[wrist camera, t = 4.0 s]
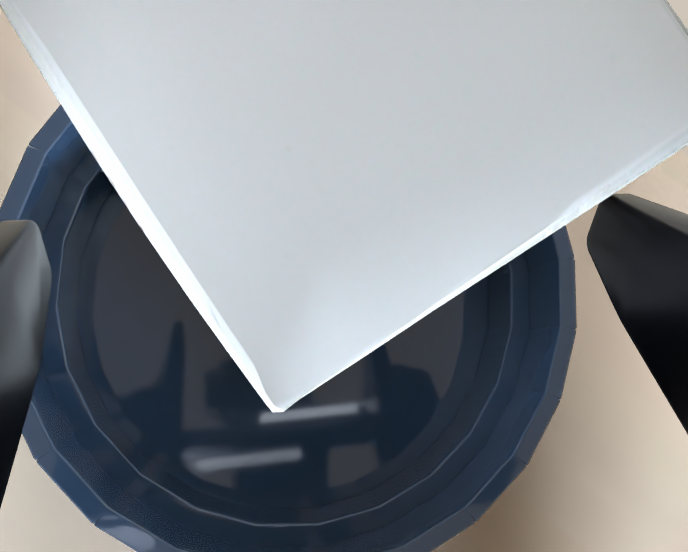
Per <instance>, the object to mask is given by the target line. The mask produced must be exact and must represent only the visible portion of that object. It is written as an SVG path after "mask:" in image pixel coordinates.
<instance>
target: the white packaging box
mask: <svg viewBox="0 0 688 552" xmlns="http://www.w3.org/2000/svg"><path fill="white" fill-rule="evenodd" d="M0 6H1V8H2V10H3V11H4V13H5V15H6V16H7V18H8V19H9V21H10V23H11V24H12V26H13V28H14V29H15V31H16V33H17V34H18V36H19V38H20V39H21V41H22V43H23V44H24V46H25V48H26V49H27V51H28V53H29V54H30V56H31V57H32V59H33V61H34V62H35V64H36V65H37V67H38V69H39V70H40V72H41V73H42V75H43V77H44V78H45V80H46V81H47V83H48V85H49V86H50V88H51V89H52V91H53V93H54V94H55V96H56V97H57V99H58V101H59V102H60V104H61V105H62V107H63V108H64V110H65V112H66V113H67V115H68V116H69V118H70V120H71V121H72V123H73V124H74V126H75V128H76V129H77V131H78V132H79V134H80V135H81V137H82V139H83V140H84V142H85V143H86V145H87V146H88V148H89V150H90V151H91V153H92V154H93V156H94V157H95V159H96V160H97V162H98V164H99V165H100V167H101V168H102V170H103V171H104V173H105V174H106V176H107V177H108V179H109V180H110V182H111V183H112V185H113V186H114V188H115V190H116V191H117V193H118V194H119V196H120V197H121V199H122V200H123V202H124V203H125V205H126V206H127V208H128V209H129V211H130V212H131V214H132V215H133V217H134V218H135V220H136V221H137V223H138V224H139V226H140V227H141V229H142V230H143V232H144V233H145V235H146V236H147V238H148V239H149V241H150V242H151V243H152V245H153V246H154V248H155V249H156V251H157V252H158V254H159V255H160V257H161V258H162V259H163V261H164V262H165V264H166V265H167V267H168V268H169V270H170V271H171V273H172V274H173V275H174V277H175V278H176V280H177V281H178V283H179V284H180V286H181V287H182V289H183V290H184V291H185V293H186V294H187V296H188V297H189V299H190V300H191V302H192V303H193V304H194V306H195V307H196V309H197V310H198V311H199V313H200V314H201V315H202V317H203V318H204V320H205V321H206V322H207V324H208V325H209V327H210V328H211V329H212V331H213V332H214V334H215V335H216V336H217V338H218V339H219V340H220V342H221V343H222V345H223V346H224V347H225V349H226V350H227V352H228V353H229V354H230V356H231V357H232V358H233V360H234V361H235V363H236V364H237V365H238V367H239V368H240V369H241V371H242V372H243V374H244V375H245V376H246V378H247V379H248V380H249V382H250V383H251V385H252V386H253V387H254V389H255V390H256V392H257V393H258V394H259V396H260V397H261V398H262V400H263V401H264V402H265V403H266V405H267V406H268V407H269V408H270V410H271V411H272V412H284V411H285V410H286V409H288V408H289V407H290V406H291V405H293V404H294V403H295V402H296V401H298V400H299V399H301V398H302V397H304V396H305V395H307V394H308V393H310V392H311V391H313V390H314V389H316V388H317V387H319V386H320V385H322V384H323V383H325V382H327V381H328V380H330V379H331V378H333V377H334V376H336V375H337V374H339V373H340V372H342V371H343V370H345V369H346V368H348V367H349V366H351V365H352V364H354V363H355V362H357V361H359V360H360V359H362V358H363V357H365V356H366V355H368V354H369V353H371V352H372V351H374V350H375V349H377V348H378V347H380V346H381V345H383V344H384V343H386V342H387V341H389V340H390V339H392V338H393V337H395V336H396V335H398V334H399V333H401V332H402V331H404V330H405V329H407V328H408V327H410V326H411V325H413V324H414V323H416V322H417V321H419V320H420V319H422V318H423V317H425V316H426V315H428V314H429V313H431V312H432V311H434V310H435V309H437V308H438V307H440V306H441V305H443V304H444V303H446V302H447V301H449V300H451V299H452V298H454V297H455V296H457V295H458V294H460V293H461V292H463V291H464V290H466V289H467V288H469V287H471V286H472V285H474V284H475V283H477V282H478V281H480V280H481V279H483V278H484V277H486V276H488V275H489V274H491V273H492V272H494V271H495V270H497V269H498V268H500V267H501V266H503V265H504V264H506V263H508V262H509V261H511V260H512V259H514V258H515V257H517V256H518V255H520V254H521V253H523V252H524V251H526V250H528V249H529V248H531V247H532V246H534V245H535V244H537V243H538V242H540V241H541V240H543V239H545V238H546V237H548V236H549V235H551V234H552V233H554V232H555V231H557V230H558V229H560V228H561V227H563V226H565V225H566V224H568V223H569V222H571V221H572V220H574V219H575V218H577V217H578V216H580V215H581V214H583V213H585V212H586V211H588V210H589V209H591V208H592V207H594V206H595V205H597V204H598V203H600V202H602V201H603V200H605V199H606V198H608V197H609V196H611V195H612V194H614V193H615V192H617V191H618V190H620V189H621V188H623V187H624V186H626V185H627V184H629V183H630V182H632V181H633V180H635V179H636V178H638V177H640V176H641V175H643V174H644V173H646V172H647V171H649V170H650V169H652V168H653V167H655V166H656V165H658V164H659V163H661V162H662V161H664V160H665V159H667V158H668V157H670V156H671V155H673V154H674V153H676V152H677V151H679V150H680V149H682V148H683V147H685V146H686V145H688V29H687V28H686V27H685V25H684V24H683V23H682V21H681V20H680V19H679V17H678V16H677V15H676V13H675V12H674V10H673V9H672V7H671V6H670V4H669V3H668V1H667V0H0Z"/></svg>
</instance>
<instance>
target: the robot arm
mask: <svg viewBox="0 0 688 552" xmlns="http://www.w3.org/2000/svg"><path fill="white" fill-rule="evenodd" d="M587 247H588V251H589V253H590V255H591V257H592V260H593V262H594V264H595V266H596V268H597V271H598V273H599V275H600V277H601V280H602V282H603V284H604V286H605V288H606V291H607V293H608V295H609V297H610V299H611V302H612V304H613V306H614V308H615V310H616V312H617V314H618V316H619V318H620V320H621V322H622V324H623V326H624V327H625V329H626V331H627V333H628V334H629V336H630V338H631V339H632V341H633V343H634V344H635V346H636V348H637V350H638V351H639V353H640V355H641V356H642V358H643V360H644V361H645V363H646V365H647V366H648V368H649V370H650V371H651V373H652V375H653V377H654V378H655V380H656V382H657V383H658V385H659V387H660V388H661V390H662V392H663V393H664V395H665V397H666V398H667V400H668V402H669V404H670V405H671V407H672V409H673V410H674V412H675V414H676V415H677V417H678V419H679V420H680V422H681V424H682V425H683V427H684V429H685V431H686V432H687V434H688V214H685V213H682V212H679V211H676V210H674V209H671V208H668V207H665V206H662V205H659V204H657V203H654V202H651V201H648V200H645V199H643V198H640V197H637V196H634V195H631V194H612V195H611V196H609V197H608V198H606V199H605V200H603V201H602V202H600V203H599V205H598V208H597V210H596V213H595V216H594V219H593V222H592V224H591V227H590V230H589V233H588V236H587ZM51 286H52V271H51V266H50V262H49V259H48V256H47V252H46V249H45V246H44V242H43V239H42V236H41V232H40V229H39V227H38V225H37V224H36V223H35V222H34V221H32V220H11V221H3V222H1V223H0V508H1V504H2V501H3V497H4V494H5V490H6V486H7V483H8V479H9V476H10V472H11V469H12V465H13V462H14V458H15V455H16V451H17V448H18V444H19V441H20V437H21V434H22V430H23V427H24V423H25V420H26V416H27V412H28V409H29V405H30V402H31V398H32V395H33V391H34V388H35V384H36V381H37V377H38V373H39V369H40V363H41V357H42V351H43V344H44V336H45V329H46V322H47V315H48V307H49V300H50V293H51Z"/></svg>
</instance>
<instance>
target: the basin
mask: <svg viewBox="0 0 688 552" xmlns="http://www.w3.org/2000/svg"><path fill="white" fill-rule="evenodd" d="M29 145H30V146H28V147H27V148H26V151H25V153H24V155H23V158H22V160H21V162H20V164H19V167H18V169H17V171H16V174H15V176H14V178H13V181H12V183H11V185H10V187H9V190H8V192H7V194H6V197H5V199H4V201H3V203H2V206H1V208H0V223H1V222H3V221H11V220H32V221H34V222H35V223H36V224H37V225H38V227H39V229H40V232H41V236H42V239H43V242H44V246H45V249H46V252H47V256H48V259H49V262H50V266H51V271H52V286H51V293H50V300H49V307H48V315H47V322H46V329H45V336H44V344H43V351H42V357H41V363H40V369H39V373H38V377H37V381H36V384H35V388H34V391H33V395H32V398H31V402H30V405H29V409H28V412H27V416H26V420H25V423H24V427H23V430H22V434H23V436H24V438H25V440H26V443H27V445H28V447H29V449H30V451H31V453H32V455H33V457H34V459H35V460H37V463H38V464H39V466H40V467H41V468H42V469H43V470H44V471H45V472H46V473H47V474H48V475H49V477H50V478H51V479H52V480H53V481H54V482H55V483H56V484H57V485H58V486H59V488H60V489H61V490H62V491H63V492H64V493H65V494H66V495H67V496H68V497H69V499H70V500H71V501H72V502H73V503H74V504H75V505H76V506H77V507H78V508H79V510H80V511H81V512H82V513H83V514H84V515H85V516H86V517H87V518H88V519H89V521H90V522H91V523H93V524H94V523H95V524H94V525H95V526H96V527H98V528H99V529H101V530H102V531H104V532H106V533H107V534H109V535H111V536H112V537H114V538H116V539H117V540H119V541H121V542H122V543H124V544H126V545H127V546H129V547H131V548H132V549H134V550H135V551H137V552H431V551H433V550H434V549H436V548H437V547H439V546H440V545H442V544H443V543H445V542H447V541H448V540H450V539H451V538H453V537H454V536H456V535H457V534H459V533H461V532H462V531H464V530H465V529H467V528H468V527H470V526H471V525H473V524H474V523H475V521H478V520H479V519H480V518H481V516H482V515H483V514H484V513H485V512H486V511H487V510H488V509H489V508H490V506H491V505H492V504H493V503H494V502H495V501H496V500H497V499H498V498H499V496H500V495H501V494H502V493H503V492H504V491H505V490H506V489H507V488H508V486H509V485H510V484H511V483H512V482H513V481H514V480H515V479H516V478H517V476H518V475H519V474H520V473H521V472H522V471H523V470H524V469H525V467H526V465H527V464H528V463H529V461H530V459H531V457H532V455H533V453H534V451H535V449H536V447H537V445H538V443H539V442H540V440H541V438H542V436H543V434H544V432H545V430H546V428H547V426H548V424H549V422H550V420H551V418H552V416H553V414H554V412H555V410H556V408H557V406H558V404H559V402H560V400H559V399H561V397H562V392H563V388H564V383H565V379H566V374H567V370H568V365H569V361H570V356H571V352H572V348H573V343H574V339H575V334H576V330H575V329H576V289H575V260H574V254H573V251H572V247H571V243H570V240H569V236H568V232H567V229H566V225H565V226H563V227H561V228H560V229H558V230H557V231H555V232H554V233H552V234H551V235H549V236H548V237H546V238H545V239H543V240H541V241H540V242H538V243H537V244H535V245H534V246H532V247H531V248H529V249H528V250H526V251H524V252H523V253H521V254H520V255H518V256H517V257H515V258H514V259H512V260H511V261H509V262H508V263H506V264H504V265H503V266H501V267H500V268H498V269H497V270H495V271H494V272H492V273H491V274H489V275H488V276H486V277H484V278H483V279H481V280H480V281H478V282H477V283H475V284H474V285H472V286H471V287H469V288H467V289H466V290H464V291H463V292H461V293H460V294H458V295H457V296H455V297H454V298H452V299H451V300H449V301H447V302H446V303H444V304H443V305H441V306H440V307H438V308H437V309H435V310H434V311H432V312H431V313H429V314H428V315H426V316H425V317H423V318H422V319H420V320H419V321H417V322H416V323H414V324H413V325H411V326H410V327H408V328H407V329H405V330H404V331H402V332H401V333H399V334H398V335H396V336H395V337H393V338H392V339H390V340H389V341H387V342H386V343H384V344H383V345H381V346H380V347H378V348H377V349H375V350H374V351H372V352H371V353H369V354H368V355H366V356H365V357H363V358H362V359H360V360H359V361H357V362H355V363H354V364H352V365H351V366H349V367H348V368H346V369H345V370H343V371H342V372H340V373H339V374H337V375H336V376H334V377H333V378H331V379H330V380H328V381H327V382H325V383H323V384H322V385H320V386H319V387H317V388H316V389H314V390H313V391H311V392H310V393H308V394H307V395H305V396H304V397H302V398H301V399H299V400H298V401H296V402H295V403H294V404H293V405H291V406H290V407H289V408H288V409H286V410H285V411H284V412H272V411H271V410H270V408H269V407H268V406H267V405H266V403H265V402H264V401H263V400H262V398H261V397H260V396H259V394H258V393H257V392H256V390H255V389H254V387H253V386H252V385H251V383H250V382H249V380H248V379H247V378H246V376H245V375H244V374H243V372H242V371H241V369H240V368H239V367H238V365H237V364H236V363H235V361H234V360H233V358H232V357H231V356H230V354H229V353H228V352H227V350H226V349H225V347H224V346H223V345H222V343H221V342H220V340H219V339H218V338H217V336H216V335H215V334H214V332H213V331H212V329H211V328H210V327H209V325H208V324H207V322H206V321H205V320H204V318H203V317H202V315H201V314H200V313H199V311H198V310H197V309H196V307H195V306H194V304H193V303H192V302H191V300H190V299H189V297H188V296H187V294H186V293H185V291H184V290H183V289H182V287H181V286H180V284H179V283H178V281H177V280H176V278H175V277H174V275H173V274H172V273H171V271H170V270H169V268H168V267H167V265H166V264H165V262H164V261H163V259H162V258H161V257H160V255H159V254H158V252H157V251H156V249H155V248H154V246H153V245H152V243H151V242H150V241H149V239H148V238H147V236H146V235H145V233H144V232H143V230H142V229H141V227H140V226H139V224H138V223H137V221H136V220H135V218H134V217H133V215H132V214H131V212H130V211H129V209H128V208H127V206H126V205H125V203H124V202H123V200H122V199H121V197H120V196H119V194H118V193H117V191H116V190H115V188H114V186H113V185H112V183H111V182H110V180H109V179H108V177H107V176H106V174H105V173H104V171H103V170H102V168H101V167H100V165H99V164H98V162H97V160H96V159H95V157H94V156H93V154H92V153H91V151H90V150H89V148H88V146H87V145H86V143H85V142H84V140H83V139H82V137H81V135H80V134H79V132H78V131H77V129H76V128H75V126H74V124H73V123H72V121H71V120H70V118H69V116H68V115H67V113H66V112H65V110H64V108H63V107H62V105H60V106H59V107H58V109H57V110H56V111H55V112H54V113H53V115H52V116H51V117H50V118H49V120H48V121H47V122H46V123H45V124H44V126H43V127H42V128H41V129H40V131H39V132H38V133H37V134H36V135H35V137H34V138H33V139H32V140H31V142H30V143H29Z"/></svg>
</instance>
